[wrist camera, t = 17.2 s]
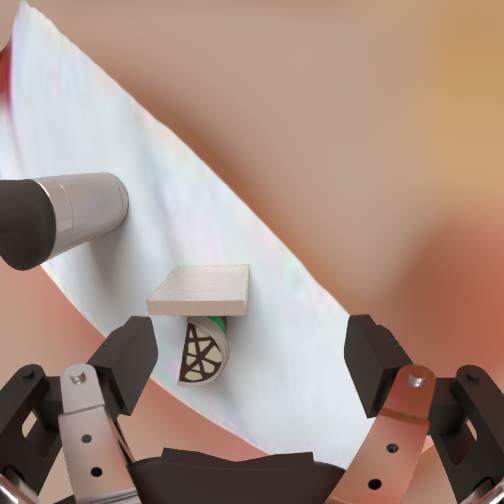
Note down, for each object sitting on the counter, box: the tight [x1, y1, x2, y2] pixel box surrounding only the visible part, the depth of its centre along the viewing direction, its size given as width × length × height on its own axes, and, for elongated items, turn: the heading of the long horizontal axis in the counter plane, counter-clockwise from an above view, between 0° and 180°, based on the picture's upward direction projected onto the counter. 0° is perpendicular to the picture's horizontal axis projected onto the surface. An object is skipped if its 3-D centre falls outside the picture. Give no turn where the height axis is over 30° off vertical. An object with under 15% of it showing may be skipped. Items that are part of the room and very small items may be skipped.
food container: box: [177, 316, 229, 387], centre depth 39 cm, size 12×6×10 cm, turn 165°
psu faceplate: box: [146, 264, 250, 316], centre depth 36 cm, size 11×2×12 cm, turn 92°
